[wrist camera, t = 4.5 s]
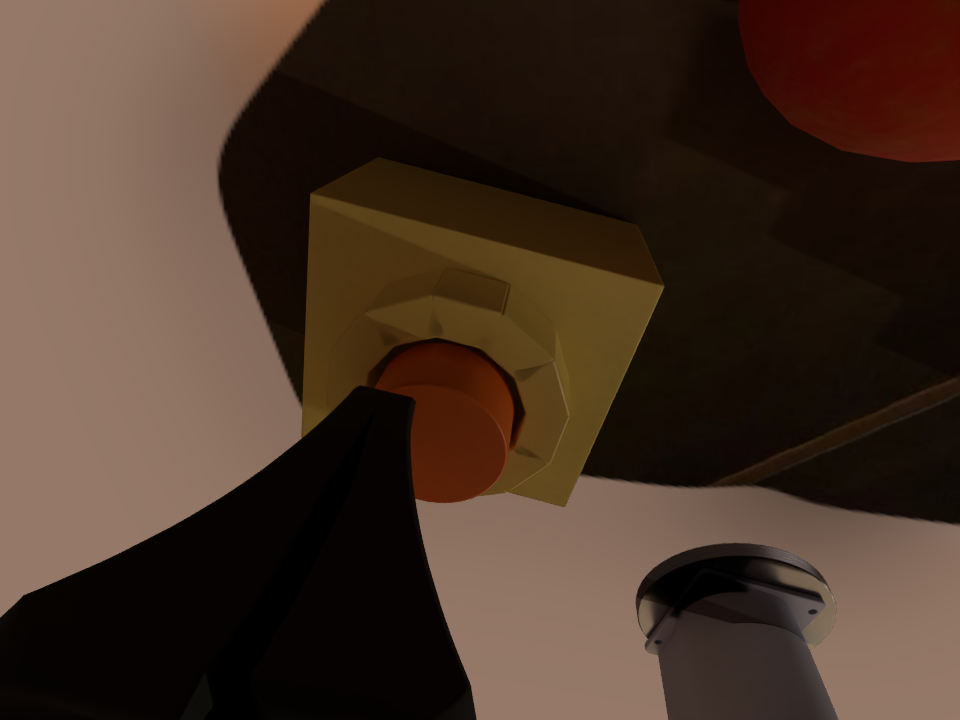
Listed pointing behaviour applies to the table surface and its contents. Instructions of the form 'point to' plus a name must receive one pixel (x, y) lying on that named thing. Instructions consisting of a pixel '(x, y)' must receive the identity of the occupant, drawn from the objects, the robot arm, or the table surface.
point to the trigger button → (453, 419)
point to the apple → (861, 72)
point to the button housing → (477, 304)
